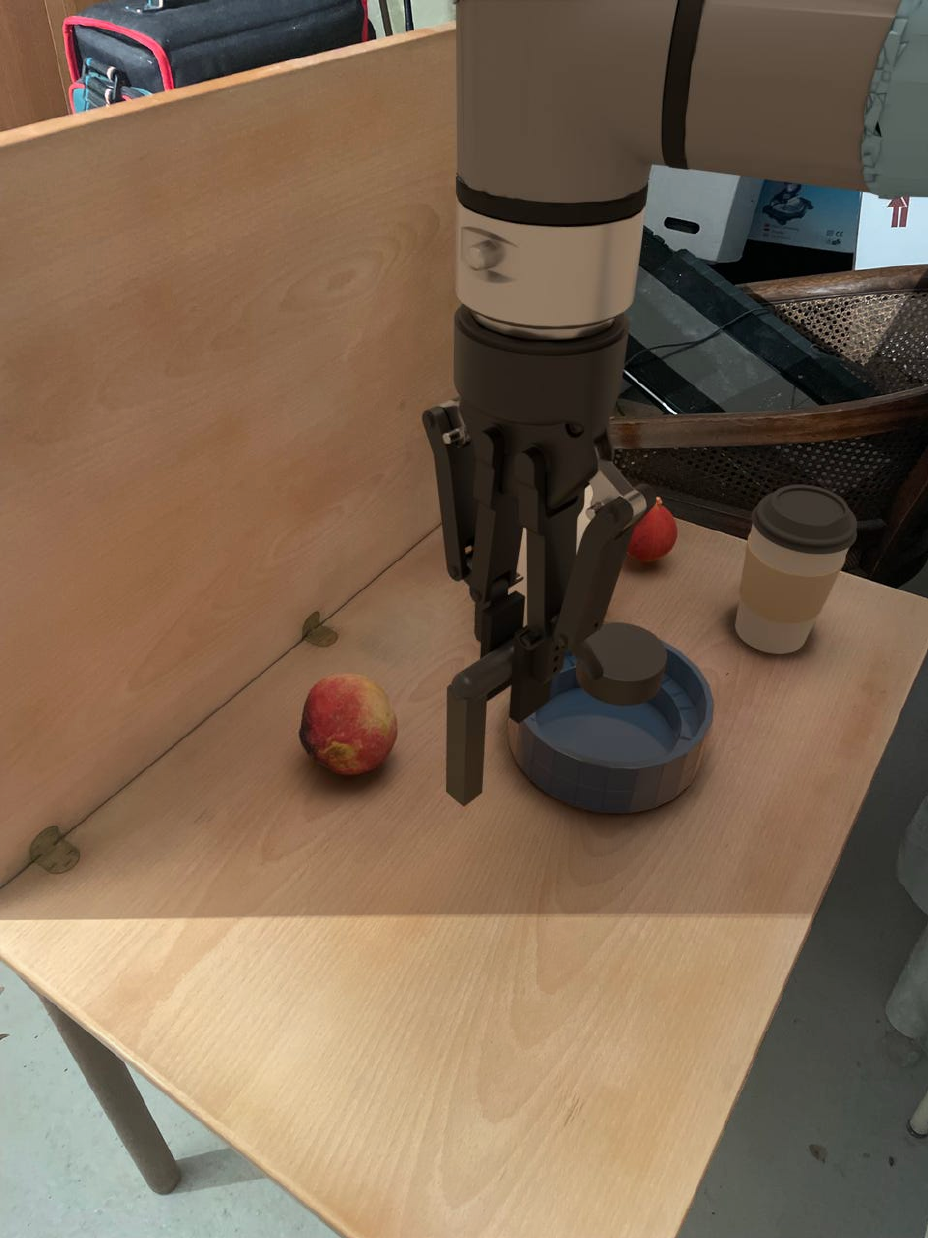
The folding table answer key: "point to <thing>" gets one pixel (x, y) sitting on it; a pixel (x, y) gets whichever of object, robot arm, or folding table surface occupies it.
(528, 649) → the robot arm
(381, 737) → the fruit
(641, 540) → the red pomegranate
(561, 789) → the bowl
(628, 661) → the ladle
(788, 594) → the coffee cup
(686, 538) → the folding table surface
